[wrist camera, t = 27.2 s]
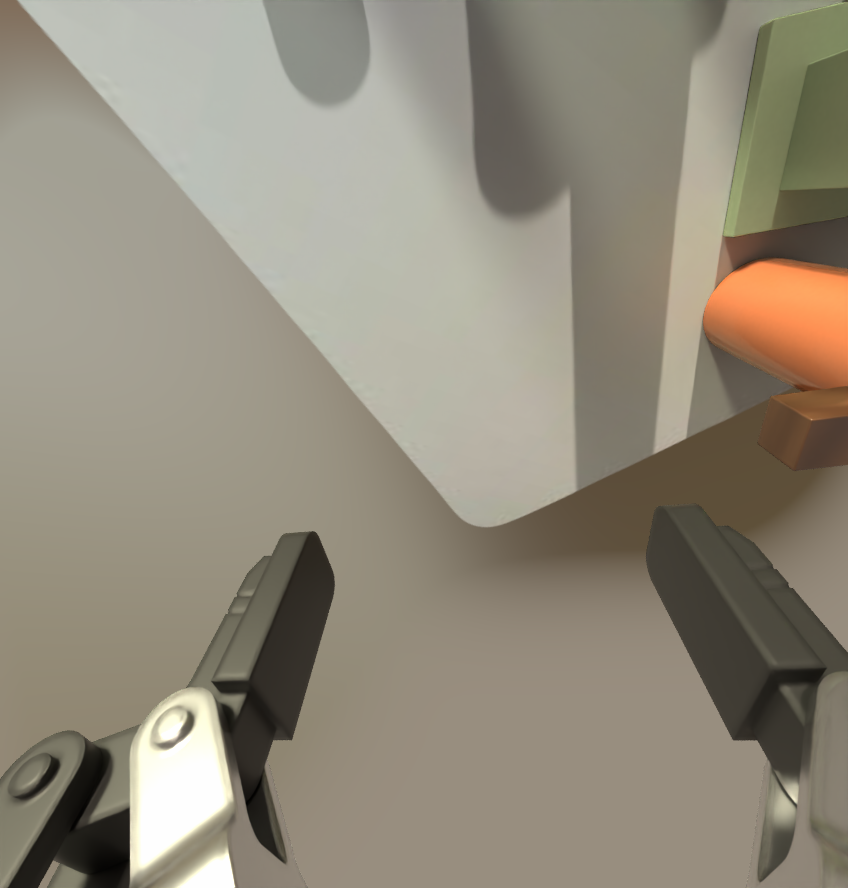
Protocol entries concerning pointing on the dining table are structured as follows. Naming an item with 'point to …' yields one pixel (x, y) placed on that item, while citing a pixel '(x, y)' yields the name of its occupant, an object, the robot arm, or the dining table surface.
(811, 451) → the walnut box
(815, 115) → the plant stand
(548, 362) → the dining table surface
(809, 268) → the terracotta jar
